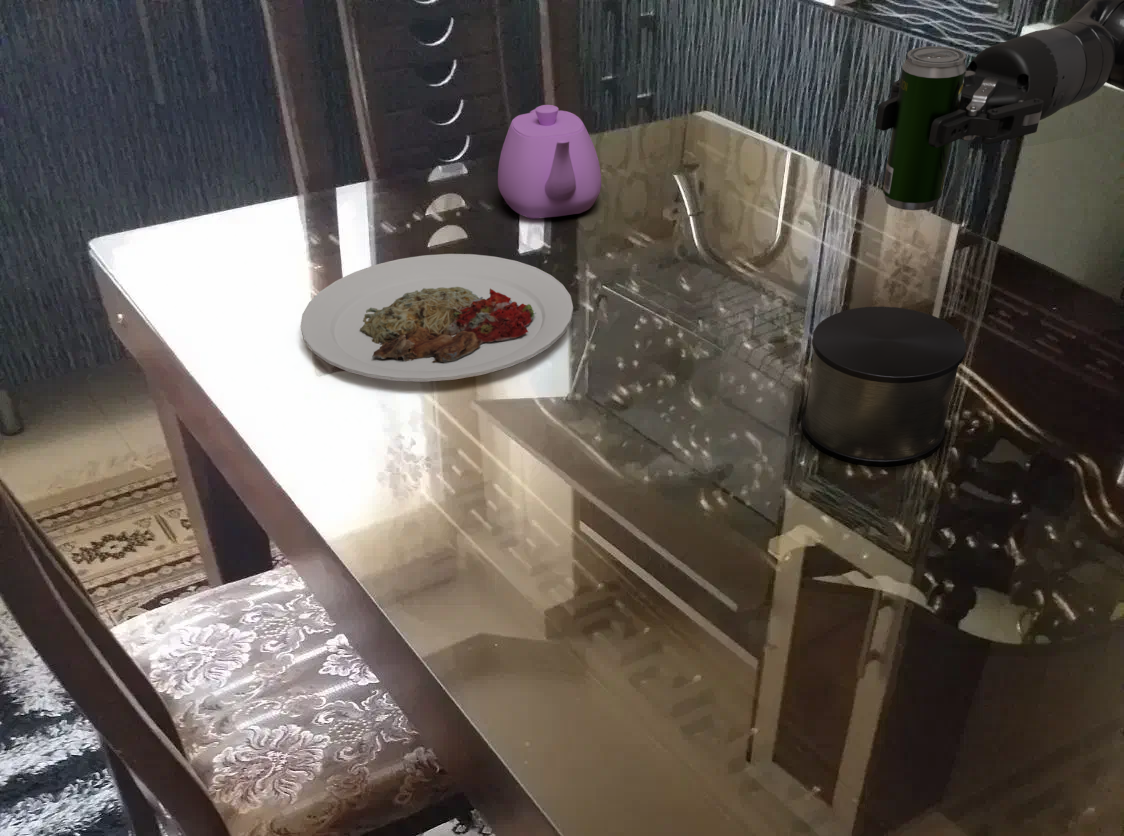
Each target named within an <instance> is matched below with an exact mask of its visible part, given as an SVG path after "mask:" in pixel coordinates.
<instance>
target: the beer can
mask: <svg viewBox="0 0 1124 836" xmlns="http://www.w3.org/2000/svg"><path fill="white" fill-rule="evenodd" d="M966 58H967V54H966V52H964V51H962V50H961V49H957V48H954V47H946V46H940V45H939V46H934V45H932V46H929V45H928V46H921V47H916V48H912V49H910V50H909V51H908V52H907V54H906V60H904V63H903V65H902V69H901V75H900V79H901V80H900V79H899V80H900V86H899V92H898V99H897V105H896V111H895V117H894V124H893V128H892V130H891V137H890V143H889V150H888V155H887V162H886V168H885V174H884V181H883V185H882V194H883V198H884V199H883V200H884V201H885V203H886V205H889V206H890V207H892V208H896V209H897V210H898V209H899V210H903V211H922V210H927V209H928V210H929V209H931V208H933V207H935V206H936V204H937V203H938V202H939V201H940V199H941V197H942V195H943V190H944V184H945V181H946V179H945V178H946V176H947V175H946V174H947V169H948V165H949V159H950V155H951V150H952V144H953V142H951V143H948V144H945V145H943V146H941V147H938V148H935V147H932V146H930V145H929V137H930V131H931V126H932V123H933V121H934V120H935V119H936V118H938V117H941V116H944V115H946V114H949V113H952V112H955V111H957V110H958V109H959V104H960V99H961V94H962V89H963V84H964V79H965V74H966V68H967V66H966V60H967V59H966Z"/></svg>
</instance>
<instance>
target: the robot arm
mask: <svg viewBox="0 0 1124 836" xmlns="http://www.w3.org/2000/svg"><path fill="white" fill-rule="evenodd" d="M900 80H901V78H899V79H898V80H896V81H894V82H893V83H892V86H891V91H890V99H887V100H884V101H882V102H881V103H879V104H878V105H877V110H876V111H877V112H876V117H875V129H876V130H879V131H882V132H885V131H887V130H890V129H893V124H894V117H895V111H896V105H897V99H898V92H899V86H900ZM1105 84H1109V85H1111V86H1113V87H1115V88H1118V89H1120V90H1122V91H1124V0H1088V1H1087V3H1085V4H1084V6H1083V7H1081V8H1080V10H1078V11H1077V12H1076V13H1075V14H1073V16H1072V17H1071V18H1070V19H1068V20H1067V22H1065V23H1062V24H1059V25H1056V26H1054V27H1050V28H1048V29H1047V28H1046V29H1039V30H1034V31H1031V32H1028V33H1026V34H1025V33H1024V34H1022V35H1020V36H1017V37H1014V38H1011V39H1008V40H1005V41H1002V42H1000V43H997V44H994V45H990V46H989V47H985V49H983V50H981V51H980V52H978V54H976V55H975V57H974V58H973V59H972V60H971V62H970V63H969V64H968V65H967V66H966V74H965V79H964V84H963V89H962V94H961V99H960V104H959V109H958V110H957V111H955V112H952V113H949V114H946V115H944V116H941V117H938V118H936V119H935V120H934V121H933V123H932V126H931V131H930V137H929V145H930V146H932V147H935V148H938V147H941V146H943V145H945V144H948V143H951V142H952V143H953V142H956V141H958V140H962V141H966V142H967V141H968V142H969V141H973V140H975V138H980V137H981V139H980V142H981V143H983V144H985V145H991V144H996V143H999V142H1004V141H1008V140H1012V139H1015V138H1020V137H1023V136H1027V135H1031V134H1035V133H1037V131H1038V128H1039V123H1040V122H1041V121H1042V120H1044V119H1046V118H1048V117H1051V116H1052V115H1054V114H1056V113H1057V112H1059V111H1060V110H1062V109H1064V108H1067V107H1069V106H1072V105H1073V104H1076V103H1079V102H1081V101H1083V100H1085V99H1087V98H1089V97H1091V96H1092V95H1094V94H1095V93H1097V92H1099V90H1100V89H1101V88H1102V87H1104V85H1105Z"/></svg>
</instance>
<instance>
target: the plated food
mask: <svg viewBox="0 0 1124 836" xmlns="http://www.w3.org/2000/svg"><path fill="white" fill-rule="evenodd" d="M573 314H574V306H573V301H572V296H571V294H570V293H569V291H568V290H567V288H566V287H565V286H564V284H563V283H562V282H560V281H559V280H558V279H557V278H555V277H554V276H553V275H551V274H550V273H547V272H546V271H543V270H542V269H540V268H538V267H535V266H533V265H530V264H527V263H524V262H520V261H517V260H514V259H510V258H509V259H508V258H504V257H500V256H499V257H498V256H493V255H483V254H473V253H465V254H464V253H442V254H426V255H424V254H423V255H418V256H417V255H416V256H411V257H404V258H398V259H394V260H390V261H385V262H382V263H377V264H374V265H371V266H367V267H365V268H362V269H359V270H356V271H354V272H352V273H350V274H347V275H345V276H343V277H341V278H339V279H337V280H335V281H333V282H332V283H330V284H329V285H327V286H326V287H325V288H323V289H321V290H320V291H319V292H318V293H317V294H316V295H315V296H314V297H313V298H312V299H310V300H309V302H308V303H307V306H306V307H305V308H304V310H303V312H302V315H301V320H300V330H301V334H302V337H303V341H304V343H305V344H306V345H307V347H308V349H310V351H311V352H312V353H313V354H314V355H315V356H317V357H319V358H320V359H321V360H323V361H324V362H325V363H327V364H329V365H331V366H335V367H336V368H339V369H341V370H343V371H346V372H348V373H352V374H357V375H359V376H364V377H367V378H373V379H379V380H380V379H381V380H386V381H397V382H422V383H423V382H438V381H440V382H441V381H451V380H453V381H455V380H458V379H460V380H461V379H464V378H465V379H467V378H471V377H476V376H482V375H487V374H491V373H494V372H497V371H501V370H504V369H508V368H511V367H513V366H515V365H518V364H520V363H522V362H524V361H528V360H530V359H532V358H534V357H535V356H537V355H539V354H541V353H542V352H544V351H545V350H547V349H549V348H550V347H552V346H553V345H554V344H555V343H556V342H557V341H559V339H561V337H562V336H564V334H565V332H566V331H567V329H568V328H569V326H570V325H571V322H572V319H573Z"/></svg>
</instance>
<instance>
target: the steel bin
mask: <svg viewBox="0 0 1124 836" xmlns="http://www.w3.org/2000/svg"><path fill="white" fill-rule="evenodd" d="M811 344H812V345H811V346H812V349H813V356H812V364H811V371H810V380H809V385H808V392H807V400H806V408H805V410H804V412H803V415H802V421H801V422H802V423H801V428H802V431H803V434H804V436H805V438H806V439H807V440H808V442H810V444H811V445H812V446H814V447H815V448H816V449H817V450H818V451H821V452H822V453H824V454H826V455H828V456H830V457H832V458H835V459H837V460H841V461H844V462H847V463H850V464H855V465H862V466H867V467H896V466H897V467H898V466H903V465H909V464H912V463H916V462H919V461H922V460H924V459H926V458H928V457H929V456H931V455H933V454H934V453H935V452H936V451H937V450H938V449H939V448H940V447H941V446H942V444H943V442H944V438H945V433H946V426H945V424H946V421H947V417H948V411H949V407H950V403H951V399H952V394H953V390H954V386H955V382H956V378H957V373H958V369H959V366H960V365H961V364H962V362H963V360H964V358H965V355H966V350H967V343H966V341H965V338H964V336H963V334H962V333H961V332H960V331H959V330H958V329H957V328H955V326H954V325H952V324H950V323H949V322H947V321H946V320H943V319H941V318H939V317H937V316H934V315H932V314H929V313H926V312H923V311H919V310H915V309H910V308H904V307H898V306H897V307H896V306H880V305H879V306H876V305H875V306H865V307H855V308H850V309H846V310H842V311H838V312H836V313H834V314H832V315H831V314H830V315H829V316H828V317H826V318H824V319H823V320H821V321H820V322H819V323H818V324H817V325H816V327H815V329H814V331H813V333H812V340H811Z"/></svg>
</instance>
